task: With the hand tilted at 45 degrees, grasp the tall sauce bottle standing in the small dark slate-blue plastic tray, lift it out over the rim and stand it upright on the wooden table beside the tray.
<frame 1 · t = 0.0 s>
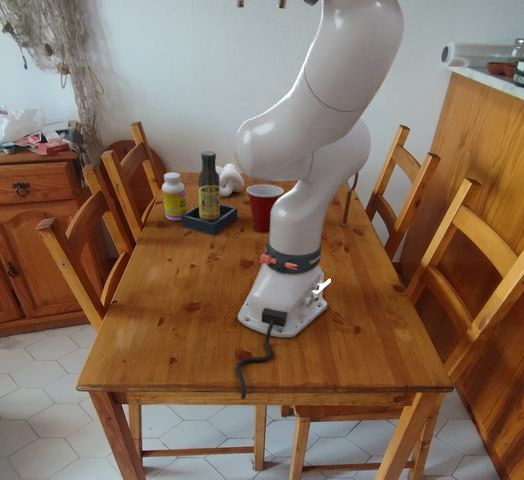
hand: (260, 7, 91), 52 cm above the table, tool tilted 20°, fingers open, 8 cm apart
plastic cup: (263, 228, 127), on the table
supplement bottle: (176, 217, 130), on the table
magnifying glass: (343, 226, 129), on the table
tray: (210, 222, 128), on the table
white knot sculpture: (224, 194, 146), on the table
sauce bottle: (210, 221, 128), resting on tray
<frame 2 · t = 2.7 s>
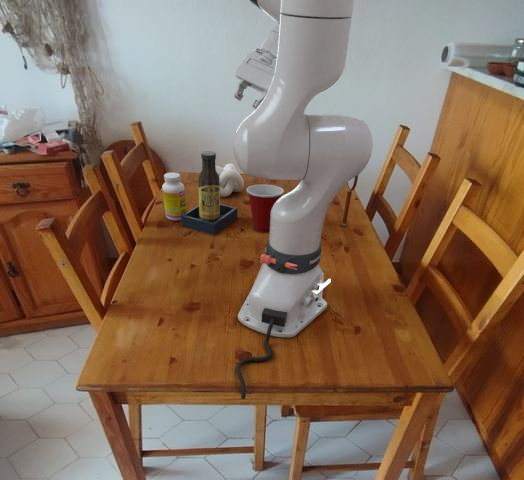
hand: (245, 103, 112), 31 cm above the table, tool tilted 40°, fingers open, 8 cm apart
nothing on the table moved.
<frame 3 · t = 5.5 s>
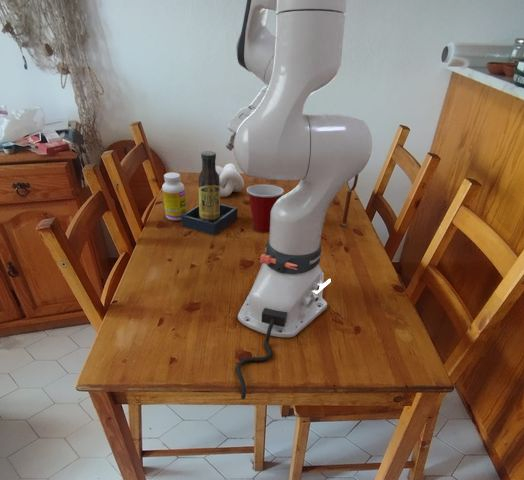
hand: (235, 153, 119), 19 cm above the table, tool tilted 45°, fingers open, 8 cm apart
nothing on the table moved.
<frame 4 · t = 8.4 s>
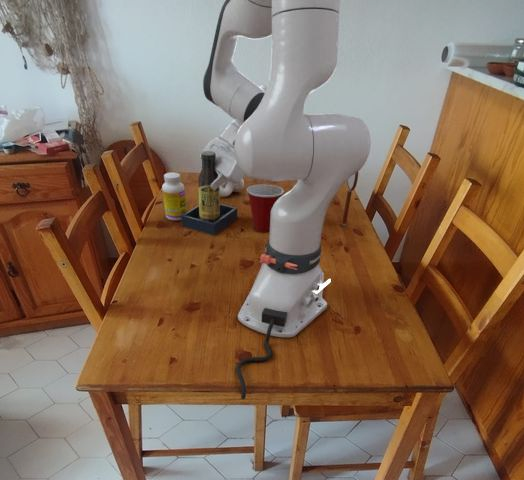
hand: (206, 183, 120), 12 cm above the table, tool tilted 45°, fingers closed on sauce bottle, 6 cm apart
sauce bottle: (210, 221, 128), resting on tray, touching gripper
everything else where it was.
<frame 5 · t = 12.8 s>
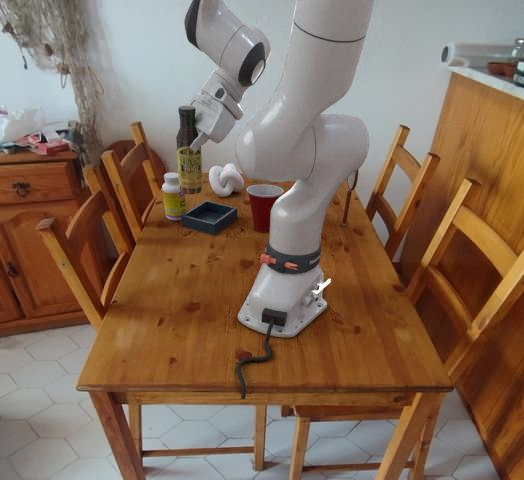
hand: (185, 145, 103), 25 cm above the table, tool tilted 45°, fingers closed on sauce bottle, 6 cm apart
sauce bottle: (192, 191, 111), point 13 cm above the table, touching gripper
everything else where it was.
when the fingers open (11 cm above the table, at t = 17.6 s): sauce bottle stays where it is, on the table.
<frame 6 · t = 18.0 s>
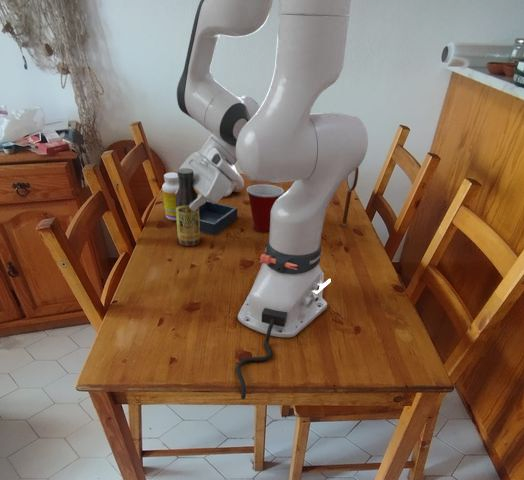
hand: (184, 202, 110), 12 cm above the table, tool tilted 45°, fingers open, 8 cm apart
sauce bottle: (190, 242, 118), on the table
everything else where it was.
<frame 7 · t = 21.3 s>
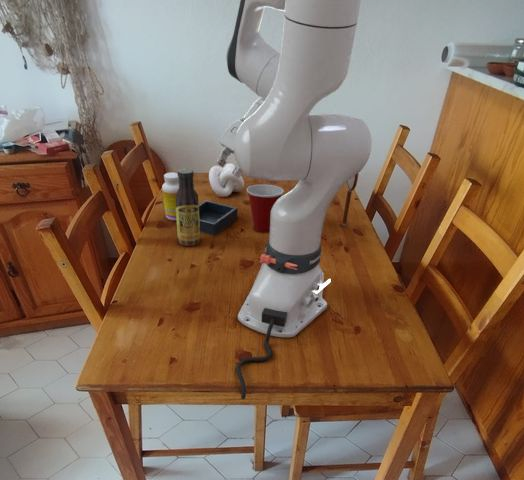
hand: (226, 170, 109), 19 cm above the table, tool tilted 45°, fingers open, 8 cm apart
nothing on the table moved.
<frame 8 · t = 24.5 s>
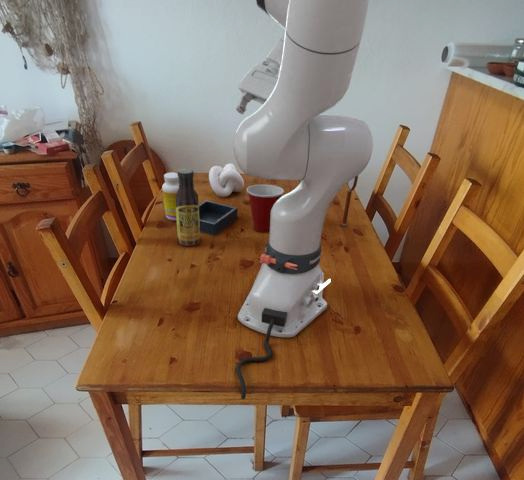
hand: (247, 116, 102), 31 cm above the table, tool tilted 45°, fingers open, 8 cm apart
nothing on the table moved.
at the end: sauce bottle inside the target area (0.1 cm from its centre), on the table; sauce bottle tilted 0°; the gripper is holding nothing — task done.
